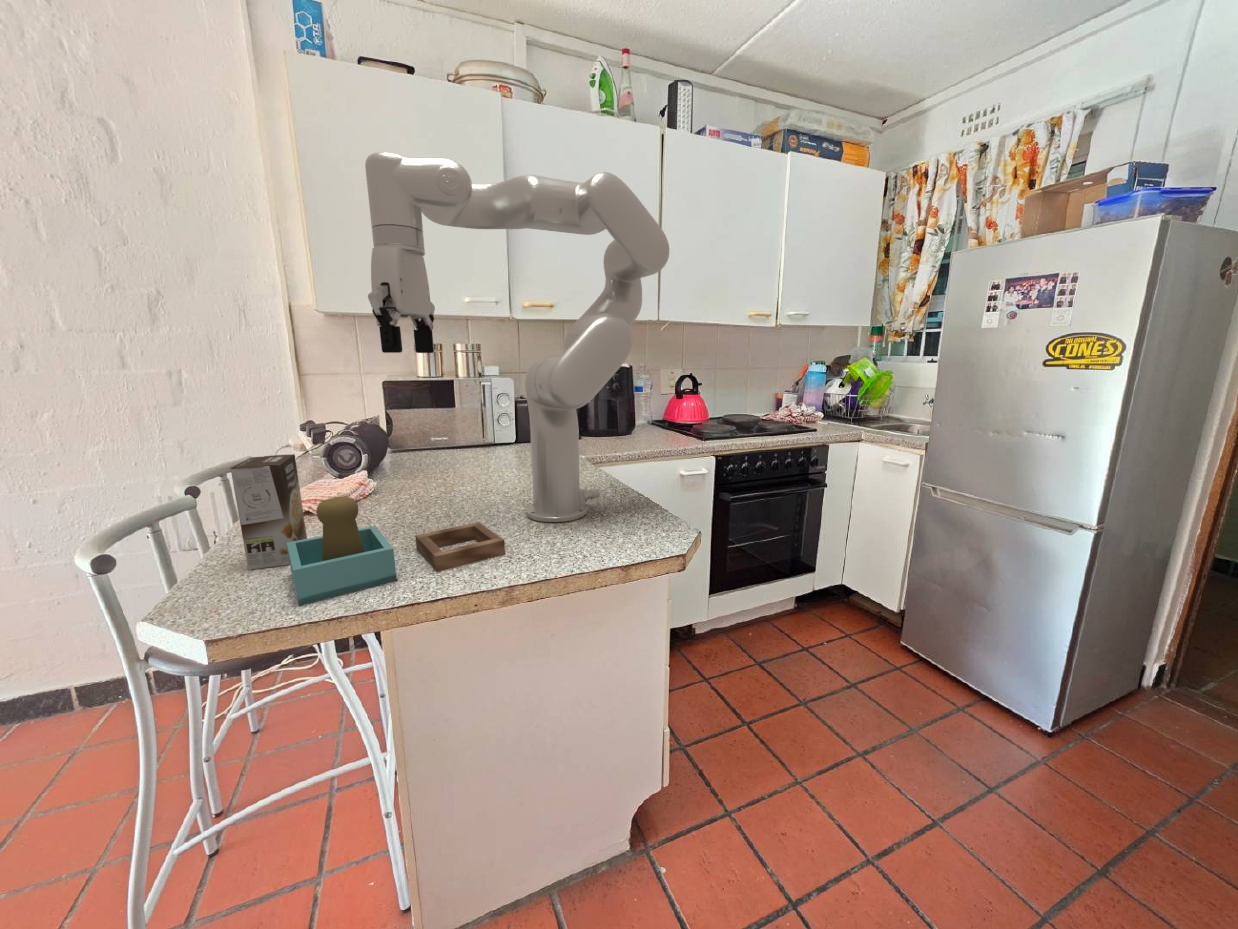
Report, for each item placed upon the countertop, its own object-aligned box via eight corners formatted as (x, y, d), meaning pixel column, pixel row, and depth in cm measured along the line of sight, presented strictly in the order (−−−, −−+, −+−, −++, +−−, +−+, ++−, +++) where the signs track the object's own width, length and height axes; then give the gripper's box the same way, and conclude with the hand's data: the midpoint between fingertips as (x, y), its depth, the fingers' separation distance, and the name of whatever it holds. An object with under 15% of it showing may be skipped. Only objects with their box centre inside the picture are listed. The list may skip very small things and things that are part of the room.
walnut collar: (479, 535, 88) (478, 522, 88) (505, 554, 80) (504, 540, 79) (416, 549, 82) (415, 535, 81) (436, 572, 73) (435, 556, 73)
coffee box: (296, 564, 76) (280, 464, 73) (247, 571, 74) (228, 468, 70) (309, 544, 84) (295, 453, 81) (265, 549, 82) (249, 456, 79)
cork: (372, 572, 71) (363, 500, 68) (324, 583, 67) (313, 507, 65) (365, 559, 75) (356, 490, 73) (319, 568, 72) (309, 497, 70)
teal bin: (379, 554, 80) (375, 525, 79) (396, 580, 70) (393, 548, 69) (291, 574, 73) (286, 542, 72) (298, 606, 63) (292, 570, 62)
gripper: (407, 254, 87) (416, 353, 91) (340, 230, 70) (354, 352, 74) (447, 253, 86) (454, 352, 90) (388, 228, 69) (400, 352, 73)
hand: (409, 352), depth 82 cm, fingers open, 9 cm apart
